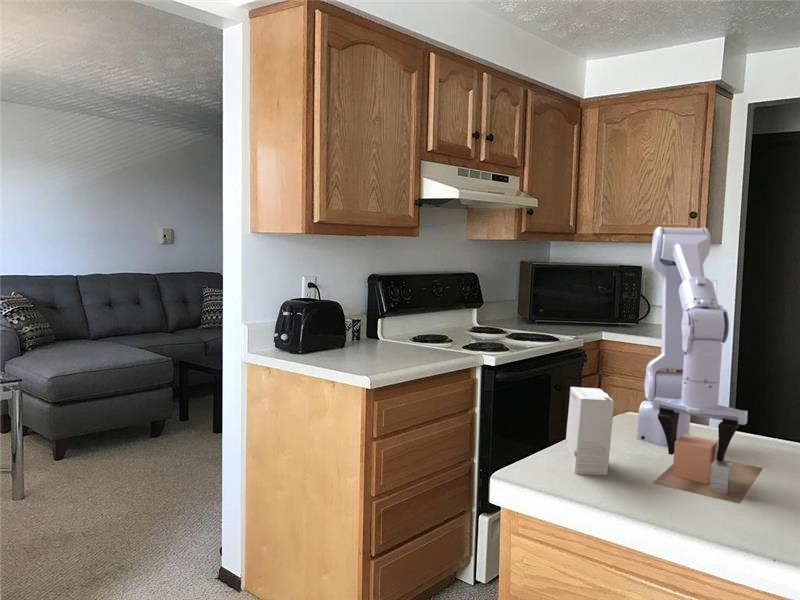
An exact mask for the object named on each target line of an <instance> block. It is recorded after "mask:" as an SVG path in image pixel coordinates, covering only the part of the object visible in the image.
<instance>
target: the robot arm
mask: <svg viewBox="0 0 800 600" xmlns="http://www.w3.org/2000/svg"><path fill="white" fill-rule="evenodd" d="M711 237H712V236H711V233H710V231H709V230H708V228H707V227H701V228H700V227H699V228H698V227H696V228H695V227H662V226H657V227H656V228H655V229H654V231H653V235H652V243H651V265H652V270H654V271H656V272H658V273H659V274H660V279H661V285H662V286H661V288H662V290H661V291H662V293H661V295H662V296H661V297H662V299H661V301H662V302H661V345H660V346H661V348H660V349H661V352H660V354H659V355H658V356H657V357H655V358H653V359H651V361H649V362H648V363H647V365H646V369H645V370H646V371H645V372H646V373H645V378H644V395H645V398H646V400H643V401H642V402H641V403H640V405H639V409H638V414H637V425H636V426H637V429H636V430H637V431H636V440H639V441H645V442H649V443H654V444H658V445H661V446H666V447H667V451H668V452H667V453H668V455H672V456H674V448H675V441H676V440H677V439H679V438H680V437H681V436H682V435H684V434H685V435H690V426H691V416H695V417H700V418H701V417H702V418H707V419H713V420H718V421H720V422H719V423H718V425H717V428H718V440H717V441H718V451H717V461H722V462H724V460H725V455H726V453H727V450H728V447H729V445H730V443H731V440H732V439H733V437H734V435H735V434H736V431H737V430H738V429H739V426H745V425H746V424H747V423H748V410H741V409H737V408H734V407H729V406H728V407H727V406H724V405H719V397H720V396H719V394H720V393H719V392H720V382H721V381H720V379H721V367H722V366H721V365H722V355H723V354H722V352H723V344H725V343H726V342H727V340H728V337H729V331H730V318H729V314H728V313H729V312H728V310H727V309H726V308H724V306H723V305H721V304H719V302H718V299H717V294H716V290H715V287H714V284H713V282H712V281H711V280H710V279H709V278H707V277H705V270H704V263H705V261H706V260H707V257H708V256H709V254H710V251H711V242H712V241H711V239H712V238H711ZM660 370H661V371H660ZM663 370H670V371H663ZM671 370H672V371H671ZM673 370H674V371H673ZM681 371H682V372H681Z"/></svg>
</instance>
